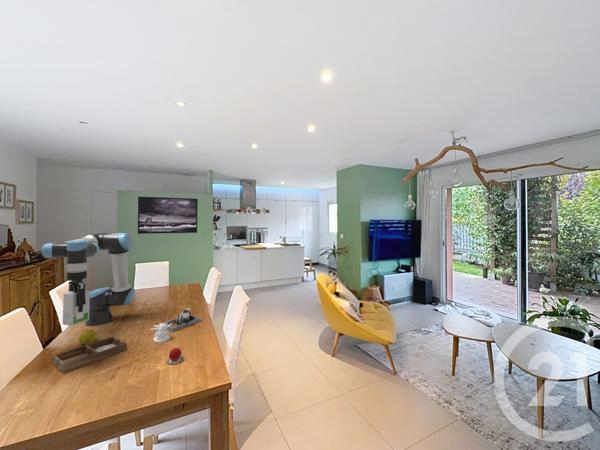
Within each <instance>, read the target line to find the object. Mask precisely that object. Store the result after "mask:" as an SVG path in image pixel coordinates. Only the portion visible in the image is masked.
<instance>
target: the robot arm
mask: <svg viewBox="0 0 600 450" xmlns="http://www.w3.org/2000/svg"><path fill="white" fill-rule="evenodd" d="M132 244H133V243H132V237H131V236H130V235H129V233H127V232H126V233H125V232H124V233H123V232H98V233H93V234H88V235H85V236H83V237H81V238H78V239H73V240H67V241H63V242H49V243H48V242H47V243H45V244H43V246H42V247H41V255H42V256H43V258H49V259H55V258H66V265H65V268H66V280H67V281H68V292H70V291H74V293H77V295H76V301H77V305H75V307H76V319H80V318H83V316H84V304H86V299H85V290H86V284H85V283H84V282H83V280H85V279H87V277H88V272H87V270H88V258H89V257H90V258H91V257H93V256H96V255H97V254H98V253H99V252H100V251H107V253H108V254H109V255H110V257H111V267H112V277H113V278H112V279H113V287H112V288H111V287H110V286H109V287H108V286H107V287H101V288H96V289H94V290H91V291H90V301H89V320H88V321H85V325H86V326H91V327H93V326H100V325H104V324H105V325H106V324H107V323H110V322H112V321H113V319H114V318H113V317H114V316H113V313H112V310H111V307H119V306H120V307H121V306H124V307H125V306H130V305H131V304H132V303H133V302H134V299H135V295H136V289H135V288H134V287H132V285H131V284H130V283H129V271H128V256H127V253H129V250H131V249H132Z"/></svg>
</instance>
